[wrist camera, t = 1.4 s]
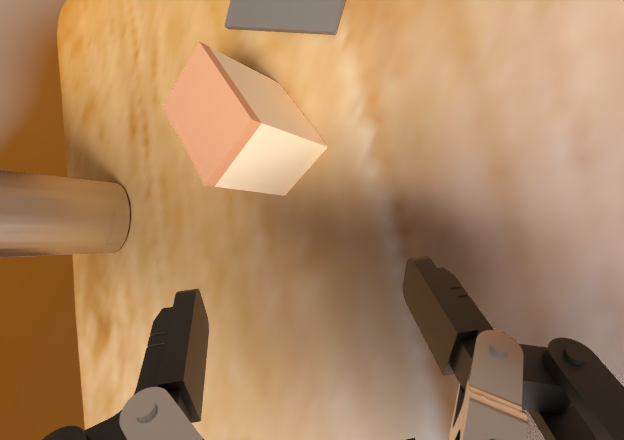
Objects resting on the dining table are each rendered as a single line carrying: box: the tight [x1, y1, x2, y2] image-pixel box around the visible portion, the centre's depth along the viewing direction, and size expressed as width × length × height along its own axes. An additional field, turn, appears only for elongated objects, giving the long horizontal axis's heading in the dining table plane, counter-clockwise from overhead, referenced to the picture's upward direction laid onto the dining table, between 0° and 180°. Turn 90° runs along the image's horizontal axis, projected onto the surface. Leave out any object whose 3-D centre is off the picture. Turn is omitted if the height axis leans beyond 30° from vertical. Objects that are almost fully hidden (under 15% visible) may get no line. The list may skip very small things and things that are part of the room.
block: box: [163, 42, 328, 196], centre depth 26 cm, size 8×6×8 cm
